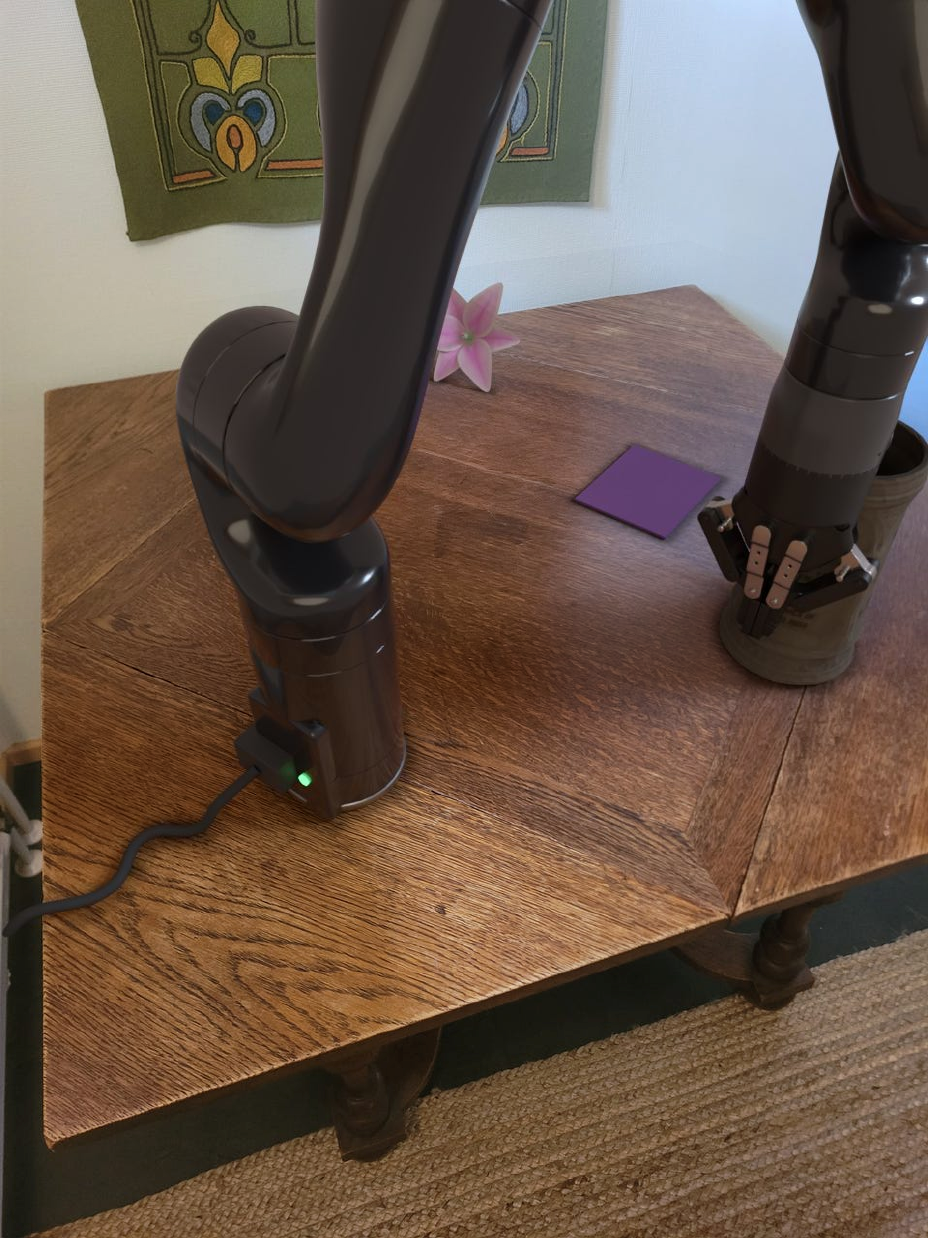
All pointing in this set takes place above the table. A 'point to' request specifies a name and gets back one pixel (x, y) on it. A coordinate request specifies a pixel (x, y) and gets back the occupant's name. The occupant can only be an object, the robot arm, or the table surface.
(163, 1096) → the table surface
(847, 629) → the beer stein
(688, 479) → the cloth
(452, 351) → the lily
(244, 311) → the robot arm
